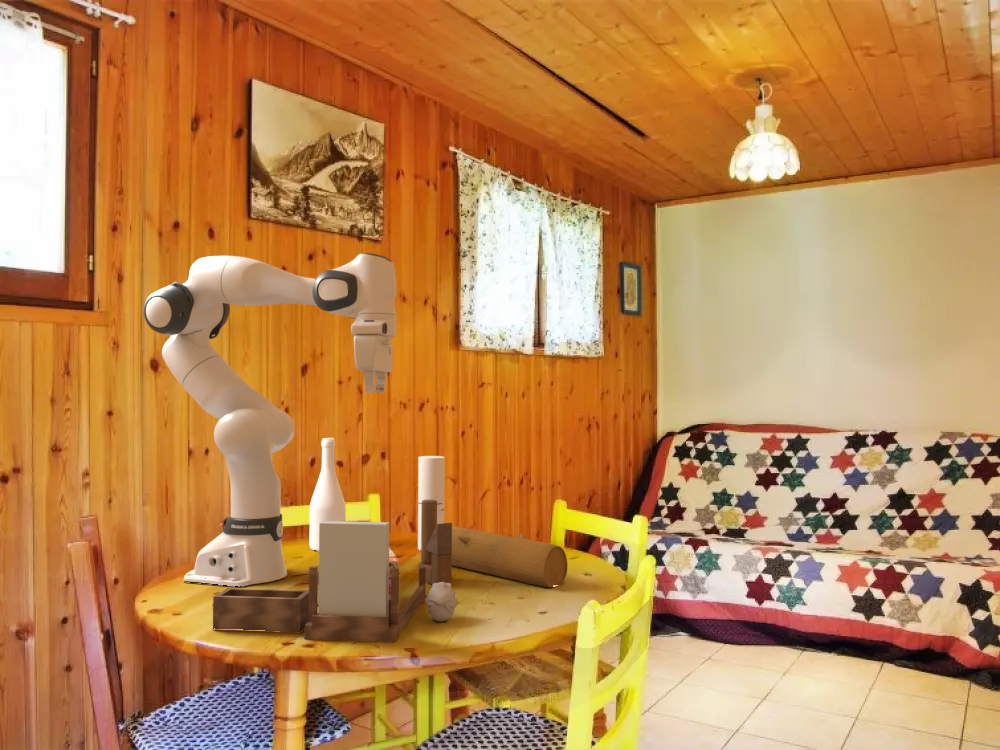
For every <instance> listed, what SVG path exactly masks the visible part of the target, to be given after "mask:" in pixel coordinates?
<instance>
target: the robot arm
mask: <svg viewBox="0 0 1000 750" xmlns="http://www.w3.org/2000/svg"><path fill="white" fill-rule="evenodd" d="M396 298H397V276H396V268H395V264H394V262H393V261H392V260H391V259H390V258H388V257H386V256H384V255H380V254H377V253H371V252H362V253H359V254H357V255H356V257H355V258H354V259H352V260H351V261H349V262H348V263H346V264H344V265H342V266H339V267H336V268H333V269H328V270H324V271H322V272H321V273H319V274H318V276H317V277H316V278H313V277H306V276H301V275H297V274H294V273H292V272H289V271H287V270H284V269H282V268H280V267H277V266H274V265H272V264H269V263H266V262H264V261H261V260H257V259H254V258H251V257H245V256H238V255H237V256H236V255H210V256H205V257H204V256H203V257H199V258H198V259H197V260H195V261H194V263H192V265H191V266H190V269H189V273H188V279H187V280H186V282H184V283H181V282H179V281H174V282H172V283H171V284H169V285H167V286H164V287H162V288H160V289H158V290H156V291H154V292H152V293H151V294H150V295H149V296H147V298H146V299H145V302H144V304H143V316H144V318H143V319H144V320H145V323H146V324H147V326H149V328H150V329H151V330H153V331H154V332H156V333H159V334H161V335H165V336H166V335H167V336H169V338H168V339H167V340H166V342H164V345H163V346H162V350H161V356H162V359H163V361H164V363H165V364H166V366H167V368H168V369H169V371H170V372H171V373H172V375H173V376H174V378H175V379H176V380H177V382H178V383H179V384H180V385H181V387H182V388H183V389H184V390H185V391H186V392H187V393H188V394H189V395H190V397H192V399H193V400H194V401H195V402H196V403H197V404H198V405H199V407H201V409H202V410H203V411H204V412H205V413H207V414H208V415H211V416H212V417H214V418H216V419H218V422H216V424H215V426H214V430H213V431H214V432H213V439H214V444H215V445H216V447H217V448H218V450H219V451H220V452H221V453H222V455H223V457H224V460H225V464H226V467H227V472H228V476H229V477H228V478H229V482H230V483H229V484H230V515H228V517H225V518H224V519H223V520H221V521H219V523H220V524H219V527H222V532H221V533H220V534H218V535H217V536H216V537H215V538H214V539H213V540H211V541H210V542H209V543H207V544H206V545H204V547H202V548H201V549H200V550H199V551H198V553H197V556H196V557H195V558H196V559H195V564H194V568H193V569H192V570H190V571H188V572H186V574H184V576H183V581H184V580H185V581H193V582H202V583H211V584H210V585H212V584H218V585H217V586H223V585H227V587H235V586H238V587H237V588H241V587H246V586H251V585H257V584H262V583H269V582H274V581H278V580H280V579H283V578H286V576H288V571H287V569H286V564H285V561H284V555H283V545H282V538H283V533H284V532H283V531H284V528H283V527H284V524H283V523H284V522H283V514H282V513H281V505H282V504H281V501H282V499H281V498H282V497H281V493H282V492H281V491H282V489H281V488H282V486H281V485H282V483H281V482H282V481H281V479H280V478H279V476H278V475H277V473H276V470H275V466H274V463H273V457H272V454H274V453H277V452H278V451H280V450H282V449H284V448H285V447H286V446H287V445H289V443H291V441H292V440H293V437H294V436H295V431H296V429H295V428H296V427H295V422H294V421H293V418H292V417H291V416H290V415H289V414H288V413H286V412H285V411H284V410H282V409H280V408H278V407H277V406H276V405H274V404H273V403H272V402H271V401H269V400H268V399H267V398H266V396H264V395H262V394H261V393H259V392H258V391H257V390H256V389H254V388H253V387H252V386H251V385H249V384H248V383H247V382H246V381H245V380H243V378H241V376H240V375H239V374H238V373H237V372H236V371H235V370H234V369H233V368H232V367H231V365H229V363H228V362H227V361H226V360H225V359H224V358H223V357H222V356H221V355H220V353H218V352H217V351H216V350H215V348H214V347H213V345H211V342H210V340H212V339H215V338H217V336H219V334H220V331H221V329H222V328H223V327H224V325H225V324H226V323H227V322H228V319H229V316H230V311H231V307H230V305H234V306H242V307H243V306H247V307H248V306H249V307H250V306H272V305H273V306H275V305H307V306H315V307H318V309H320V310H322V311H324V312H327V313H329V314H333V315H338V316H342V317H348V318H350V319H353V320H354V322H353V323H352V324H351V327H350V329H351V330H350V333H351V335H353V336H354V337H353V349H354V351H353V352H354V362H355V363H354V364H355V368H356V370H357V371H362V377H363V382H364V392H365V393H366V394H374V393H375V392H376V393H377V394H383V393H385V392H386V382H387V376H388V375H387V373H392V372H393V366H394V365H393V364H394V359H393V358H394V357H393V342H392V340H391V338H396V337H397V312H396V308H395V302H396ZM375 377H376V381H375ZM375 382H376V384H375ZM240 586H241V587H240Z"/></svg>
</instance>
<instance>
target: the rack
mask: <svg viewBox="0 0 1000 750" xmlns="http://www.w3.org/2000/svg"><path fill="white" fill-rule="evenodd" d="M308 590H309V622H308V623H307V624H306V625H305V629H304V640H319V639H323V641H324V640H326V641H351V642H354V641H355V642H377V643H378V642H379V643H380V642H383V643H385V642H386V643H396V641H397V639H398V638H399V637H400V635H401V633H402V632H403V630H404V629H405V627H406V626H407V625H408V623H409V622H410V620H411V619H412V617H413V615H414V614H415V613H416V611H417V610H418V608H419V606H420V605H421V603H422V602H423V600H424V598H426V596H427V595H426V594H427V593H426V592H427V591H426V590H427V582H426V567H420V568H419V567H418V586H417V587H416V589H415V590H414V592H412V595H411V596H410V597H409V598H408V600H407V602H406V603H405V604H404V605H403V607H402V608H401V610H400V568H399V567H398V568H392V569H391V599H389V617H365V616H333V615H319V612H318V606H319V565H311V566H309V568H308Z"/></svg>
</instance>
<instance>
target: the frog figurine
mask: <svg viewBox="0 0 1000 750" xmlns="http://www.w3.org/2000/svg"><path fill="white" fill-rule="evenodd" d="M424 603H425V606H426V607H427V612H428V614H429V616H430V617H431V618H432V619H433V620H435V622H436V621H437V622H445V621H448V620H449V619H450V618H451V617H452V616H453V614H454V612H455V609H456V607H457V606H458V598H457V597H456V591H455V590H454V588H453V587H452V583H451V584H450V583H445V582H439V583H434V584H433V585H432V584H431V588H430V589H429V591H428V593H427V597H425V602H424Z"/></svg>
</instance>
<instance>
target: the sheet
mask: <svg viewBox="0 0 1000 750" xmlns="http://www.w3.org/2000/svg"><path fill="white" fill-rule="evenodd" d="M389 548H390V521H387V522H385V521H383V522H382V521H346V520H345V521H323V522H321V523H319V551H318V555H319V556H318V613H319V615H333V616H365V617H389Z"/></svg>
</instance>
